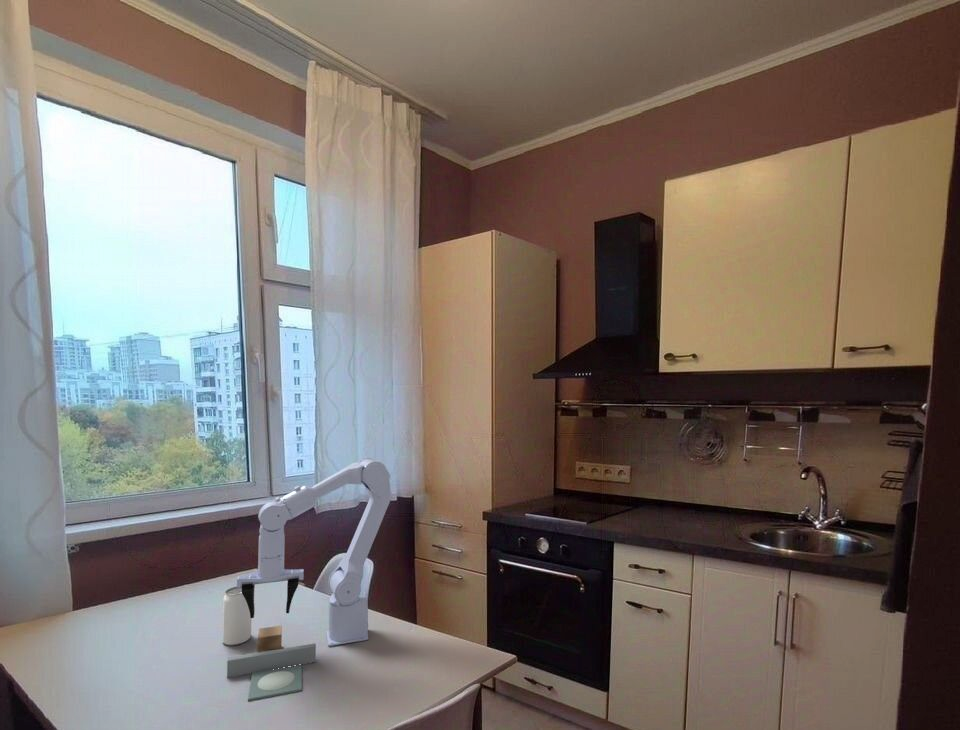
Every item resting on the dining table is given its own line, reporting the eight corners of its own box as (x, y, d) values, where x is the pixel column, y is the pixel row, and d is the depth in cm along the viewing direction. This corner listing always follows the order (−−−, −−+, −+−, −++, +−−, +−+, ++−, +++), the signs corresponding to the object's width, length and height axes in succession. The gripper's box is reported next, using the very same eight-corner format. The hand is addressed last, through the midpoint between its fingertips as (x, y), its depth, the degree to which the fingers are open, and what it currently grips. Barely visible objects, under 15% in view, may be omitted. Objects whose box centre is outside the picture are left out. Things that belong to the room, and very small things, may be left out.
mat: (301, 666, 112) (301, 664, 112) (301, 690, 103) (301, 688, 103) (252, 675, 109) (252, 672, 109) (247, 701, 99) (247, 698, 99)
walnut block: (281, 646, 121) (281, 625, 122) (280, 656, 117) (281, 634, 117) (258, 650, 120) (259, 628, 120) (257, 660, 115) (257, 638, 115)
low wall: (315, 659, 115) (315, 643, 115) (315, 662, 114) (315, 646, 114) (227, 674, 109) (228, 657, 109) (227, 677, 108) (227, 660, 108)
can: (239, 647, 121) (240, 595, 122) (216, 644, 122) (217, 594, 123) (256, 634, 127) (257, 586, 128) (234, 632, 129) (235, 584, 129)
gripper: (303, 547, 126) (302, 603, 125) (239, 553, 121) (238, 611, 120) (304, 555, 119) (302, 614, 118) (236, 562, 114) (234, 624, 113)
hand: (270, 614), depth 119 cm, fingers open, 7 cm apart
